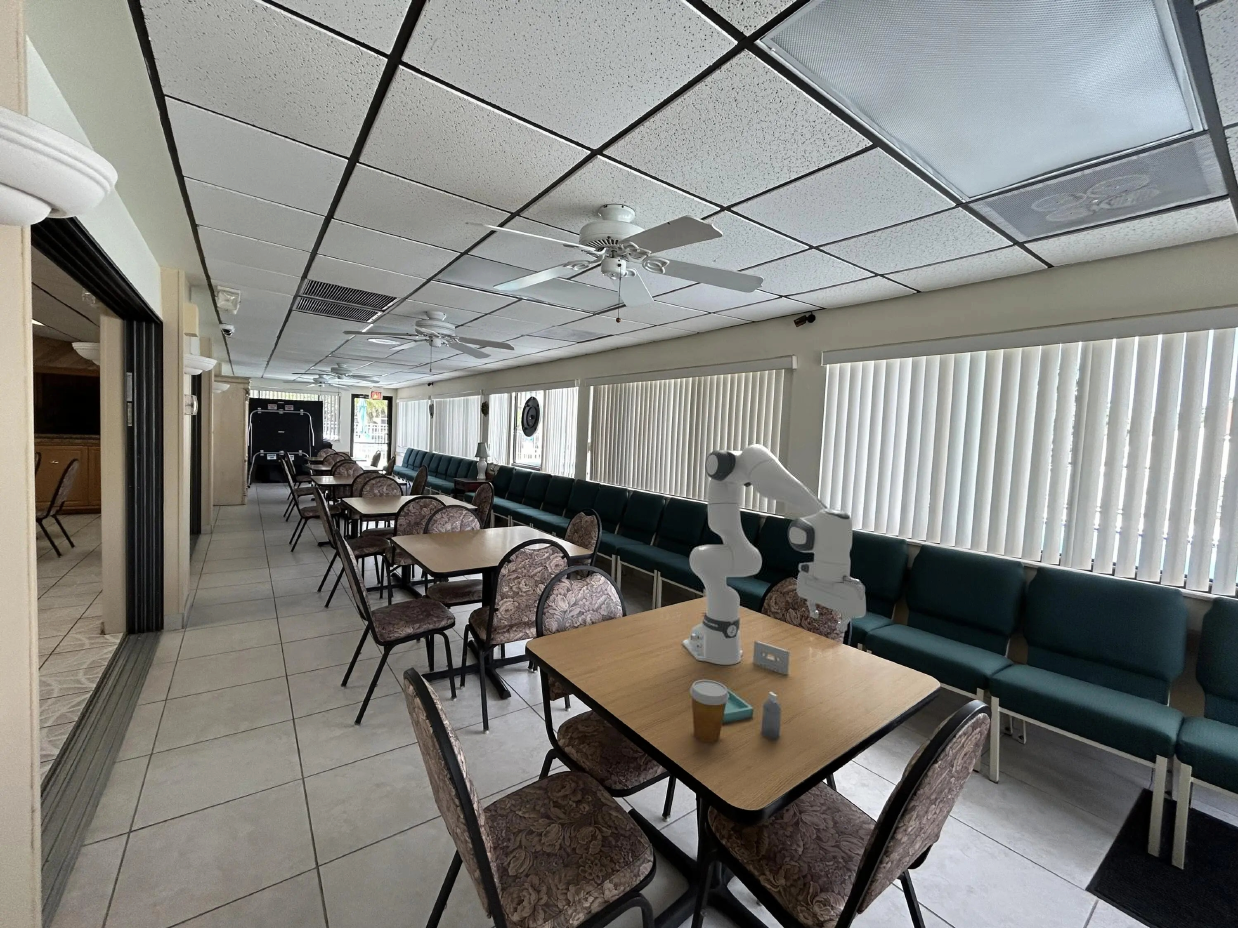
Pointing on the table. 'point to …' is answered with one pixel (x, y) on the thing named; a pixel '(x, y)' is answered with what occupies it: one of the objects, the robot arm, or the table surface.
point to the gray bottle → (771, 717)
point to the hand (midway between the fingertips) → (827, 623)
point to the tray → (736, 709)
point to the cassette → (768, 662)
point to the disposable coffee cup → (708, 709)
